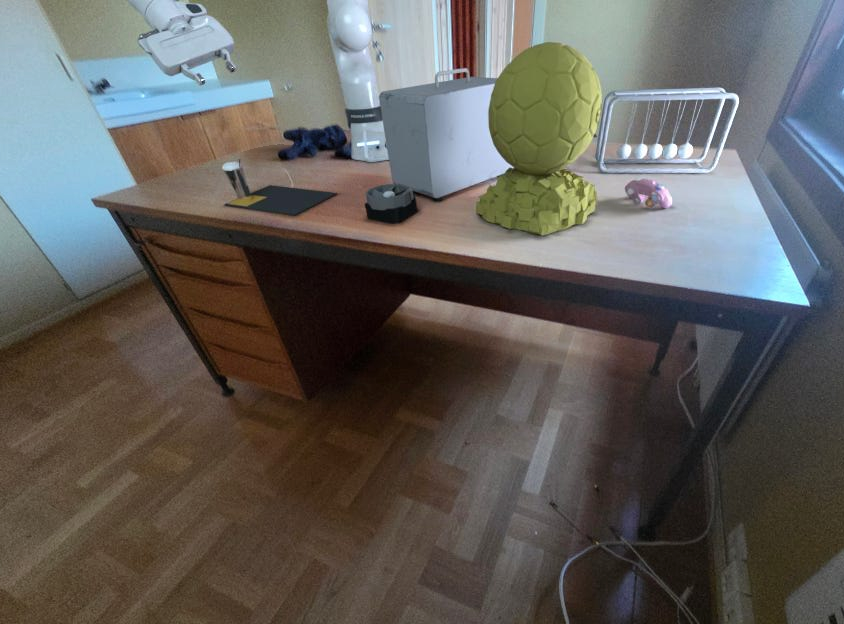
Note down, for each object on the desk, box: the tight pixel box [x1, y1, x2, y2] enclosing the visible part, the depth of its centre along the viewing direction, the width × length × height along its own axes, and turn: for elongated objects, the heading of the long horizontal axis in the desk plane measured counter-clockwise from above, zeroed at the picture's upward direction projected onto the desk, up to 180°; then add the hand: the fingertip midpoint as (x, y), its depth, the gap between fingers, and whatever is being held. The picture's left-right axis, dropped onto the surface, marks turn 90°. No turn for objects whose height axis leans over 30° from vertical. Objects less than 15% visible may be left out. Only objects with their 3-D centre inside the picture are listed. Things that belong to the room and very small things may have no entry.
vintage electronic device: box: [379, 67, 514, 202], centre depth 99 cm, size 32×18×25 cm, turn 134°
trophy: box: [475, 41, 603, 236], centre depth 77 cm, size 22×22×30 cm
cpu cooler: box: [364, 183, 418, 224], centre depth 89 cm, size 10×6×10 cm
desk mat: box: [224, 184, 338, 217], centre depth 102 cm, size 24×16×1 cm, turn 66°
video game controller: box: [624, 177, 673, 209], centre depth 86 cm, size 10×5×7 cm, turn 36°
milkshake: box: [221, 158, 252, 202], centre depth 99 cm, size 4×5×10 cm
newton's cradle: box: [594, 86, 740, 174], centre depth 103 cm, size 30×10×18 cm, turn 80°
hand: (218, 76), depth 100 cm, fingers open, 8 cm apart
